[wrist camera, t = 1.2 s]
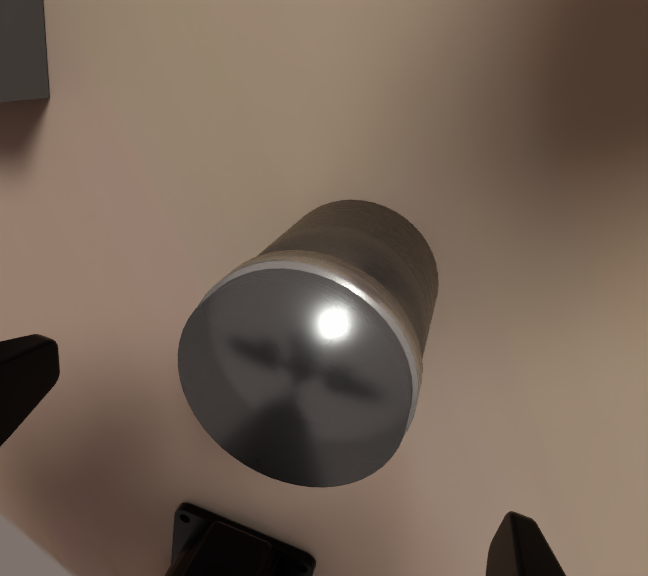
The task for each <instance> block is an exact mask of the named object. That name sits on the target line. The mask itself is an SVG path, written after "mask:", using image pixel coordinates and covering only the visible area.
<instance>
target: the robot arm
mask: <svg viewBox="0 0 648 576" xmlns="http://www.w3.org/2000/svg"><path fill="white" fill-rule="evenodd" d="M59 374H60V368H59V354H58V345H57V343H56V341H54V340H53V339H50V338H48V337H45V336H42V335H39V334H33V335H28V336H24V337H19V338H14V339H10V340H5V341H1V342H0V446H1V445H2V444H3V443H4V442H5V441H6V440H7V439H8V438H9V437H10V436H11V434H12V433H13V432H14V431H15V430H16V429H17V428H18V426H19V425H20V424H21V423H22V422H23V421H24V420H25V418H26V417H27V416H28V415H29V414H30V413H31V412H32V410H33V409H34V408H35V407H36V406H37V405H38V403H39V402H40V401H41V400H42V399H43V398H44V397H45V395H46V394H47V393H48V392H49V391H50V390H51V389H52V387H53V386H54V385H55V384H56V382H57V380H58V378H59ZM315 566H316V561H315V559H314V558H313V557H312V556H311V555H310V554H308V553H306V552H304V551H301V550H299V549H297V548H294V547H292V546H289V545H287V544H285V543H282V542H280V541H277V540H275V539H273V538H270V537H268V536H266V535H263V534H261V533H258V532H256V531H254V530H251V529H249V528H247V527H244V526H242V525H239V524H237V523H235V522H232V521H230V520H227V519H225V518H223V517H220V516H218V515H216V514H213V513H211V512H208V511H206V510H204V509H201V508H199V507H197V506H194V505H192V504H189V503H182V504H181V505H180V506H179V508H178V509H177V511H176V512H175V517H174V532H173V546H172V561H171V566H170V568H169V569H168V571H167V573H166V574H165V576H313V573H314V569H315ZM486 576H566V575H565V573H564V571H563V569H562V567H561V566H560V564H559V562H558V560H557V559H556V557H555V555H554V553H553V551H552V550H551V548H550V546H549V544H548V543H547V541H546V539H545V537H544V536H543V534H542V532H541V530H540V528H539V527H538V525H537V523H536V522H535V521H534V520H533V519H532V518H529V517H527V516H524V515H521V514H519V513H516V512H513V511H510V512H508V513H507V514H506V515H505V517H504V519H503V521H502V522H501V524H500V526H499V528H498V530H497V532H496V534H495V536H494V538H493V539H492V542H491V544H490V548H489V552H488V559H487V568H486Z"/></svg>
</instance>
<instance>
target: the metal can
mask: <svg viewBox="0 0 648 576" xmlns="http://www.w3.org/2000/svg"><path fill="white" fill-rule="evenodd" d="M437 294H438V271H437V266H436V262H435V259H434V256H433V253H432V251H431V249H430V247H429V245H428V243H427V242H426V240H425V239H424V237H423V236H422V234H421V233H420V232H419V231H418V230H417V229H416V228H415V227H414V226H413V225H412V224H411V223H410V222H409V221H408V220H407V219H405V218H404V217H403V216H401V215H400V214H398V213H397V212H395V211H393V210H391V209H389V208H387V207H385V206H382V205H379V204H376V203H372V202H367V201H361V200H341V201H336V202H331V203H328V204H325V205H322V206H320V207H318V208H316V209H314V210H312V211H311V212H309V213H308V214H307V215H305V216H304V217H303V218H302V219H300V220H299V221H298V222H297V223H296V224H294V225H293V226H292V227H291V228H290V229H288V230H287V231H286V232H285V233H284V234H283V235H281V236H280V237H279V238H278V239H277V240H275V241H274V242H273V243H272V244H271V245H269V246H268V247H267V248H266V249H265V250H264V251H262V252H261V253H260V254H259V255H258V256H256V257H254V258H252V259H250V260H248V261H246V262H244V263H243V264H241V265H240V266H238V267H237V268H235V269H234V270H233V271H231V272H230V273H229V274H228V275H227V276H225V277H224V278H223V279H222V280H220V281H219V282H218V283H217V284H216V285H215V286H214V287H213V288H212V289H211V290H210V291H209V292H208V293H207V294H206V295H205V296H204V298H203V299H202V301H201V302H200V303H199V305H198V307H197V308H196V309H195V310H194V312H193V313H192V315H191V316H190V317H189V319H188V321H187V323H186V325H185V327H184V329H183V332H182V335H181V338H180V342H179V349H178V370H179V376H180V381H181V385H182V388H183V392H184V394H185V396H186V399H187V401H188V404H189V406H190V407H191V409H192V411H193V413H194V415H195V416H196V418H197V419H198V421H199V422H200V424H201V425H202V427H203V428H204V429H205V430H206V431H207V433H208V434H209V435H210V436H211V437H212V438H213V439H214V440H215V441H216V442H217V443H218V444H219V445H220V446H221V447H222V448H223V449H224V450H225V451H227V452H228V453H229V454H230V455H232V456H233V457H234V458H236V459H237V460H239V461H240V462H242V463H243V464H244V465H246V466H248V467H250V468H252V469H253V470H255V471H257V472H259V473H261V474H264V475H266V476H268V477H271V478H273V479H276V480H279V481H282V482H286V483H290V484H294V485H300V486H307V487H334V486H341V485H345V484H350V483H353V482H356V481H359V480H361V479H364V478H365V477H367V476H369V475H371V474H373V473H374V472H376V471H377V470H379V469H380V468H381V467H383V466H384V465H385V464H386V463H387V462H388V461H389V460H390V458H391V457H392V456H393V455H394V453H395V452H396V450H397V449H398V447H399V445H400V443H401V441H402V439H403V437H404V435H405V433H406V432H407V430H408V428H409V426H410V424H411V422H412V420H413V417H414V413H415V409H416V406H417V401H418V397H419V392H420V387H421V383H422V373H423V364H422V358H423V354H424V349H425V345H426V341H427V337H428V332H429V328H430V324H431V320H432V315H433V311H434V307H435V302H436V298H437Z"/></svg>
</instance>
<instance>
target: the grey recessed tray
mask: <svg viewBox="0 0 648 576" xmlns="http://www.w3.org/2000/svg"><path fill="white" fill-rule="evenodd" d="M43 98H49V86H48V71H47V56H46V42H45V27H44V12H43V0H0V102H10V101H21V100H32V99H43Z"/></svg>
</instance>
